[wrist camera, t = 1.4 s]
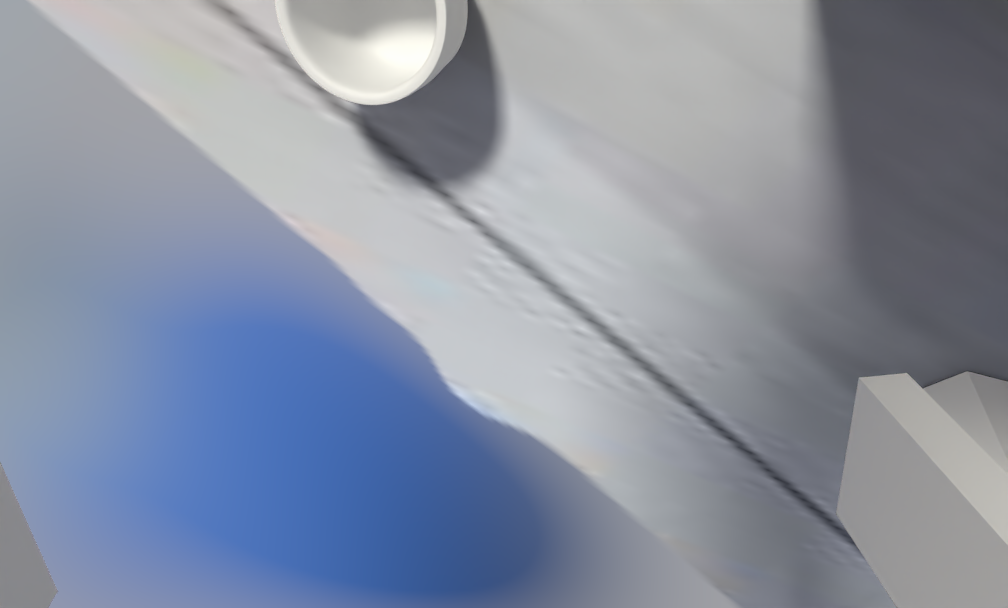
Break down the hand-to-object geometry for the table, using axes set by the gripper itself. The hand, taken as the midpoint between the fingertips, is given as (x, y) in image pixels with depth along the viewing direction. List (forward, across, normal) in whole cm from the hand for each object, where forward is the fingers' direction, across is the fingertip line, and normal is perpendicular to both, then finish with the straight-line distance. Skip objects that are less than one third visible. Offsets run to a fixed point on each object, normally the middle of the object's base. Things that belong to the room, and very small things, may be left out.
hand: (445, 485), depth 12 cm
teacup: (+30, -2, +5) cm, 31 cm away
